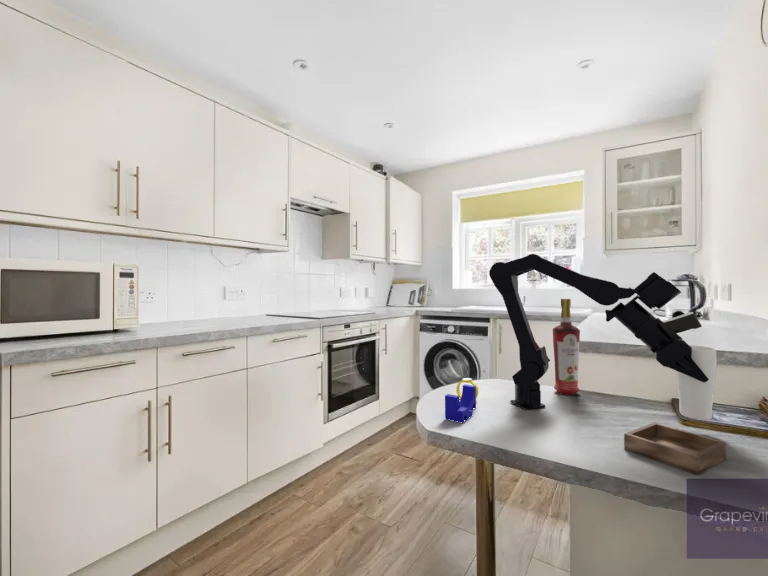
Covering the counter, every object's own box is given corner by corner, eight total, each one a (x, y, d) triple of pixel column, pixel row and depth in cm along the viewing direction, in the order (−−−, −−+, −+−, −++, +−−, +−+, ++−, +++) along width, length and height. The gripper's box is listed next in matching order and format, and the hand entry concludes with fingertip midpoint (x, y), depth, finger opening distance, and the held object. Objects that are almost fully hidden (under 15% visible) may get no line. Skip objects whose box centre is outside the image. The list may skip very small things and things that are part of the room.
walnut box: (624, 448, 71) (624, 433, 71) (654, 436, 77) (654, 422, 77) (697, 475, 61) (697, 457, 61) (726, 458, 67) (726, 442, 67)
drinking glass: (723, 424, 75) (723, 351, 75) (683, 420, 77) (683, 349, 77) (706, 412, 82) (706, 345, 81) (670, 409, 84) (670, 344, 84)
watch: (456, 400, 104) (454, 379, 104) (459, 398, 106) (458, 377, 106) (476, 402, 101) (475, 380, 101) (479, 399, 103) (478, 378, 103)
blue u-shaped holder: (462, 424, 86) (462, 398, 86) (445, 420, 88) (444, 395, 88) (481, 409, 95) (481, 386, 95) (465, 406, 98) (465, 384, 98)
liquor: (574, 389, 112) (574, 298, 112) (584, 397, 105) (584, 299, 105) (549, 389, 113) (548, 298, 113) (557, 396, 106) (557, 299, 106)
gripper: (677, 300, 74) (753, 361, 68) (668, 297, 89) (730, 347, 83) (630, 336, 78) (697, 397, 72) (629, 328, 94) (685, 377, 87)
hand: (703, 377), depth 78 cm, fingers closed on drinking glass, 6 cm apart
